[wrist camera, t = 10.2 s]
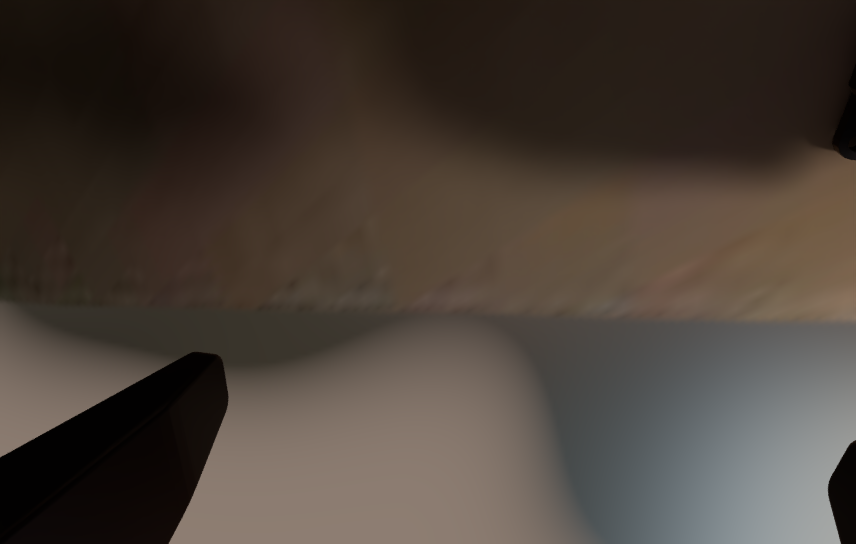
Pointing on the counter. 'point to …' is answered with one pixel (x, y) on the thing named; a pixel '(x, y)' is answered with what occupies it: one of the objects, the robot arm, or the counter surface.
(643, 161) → the counter surface
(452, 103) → the counter surface
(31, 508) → the robot arm
